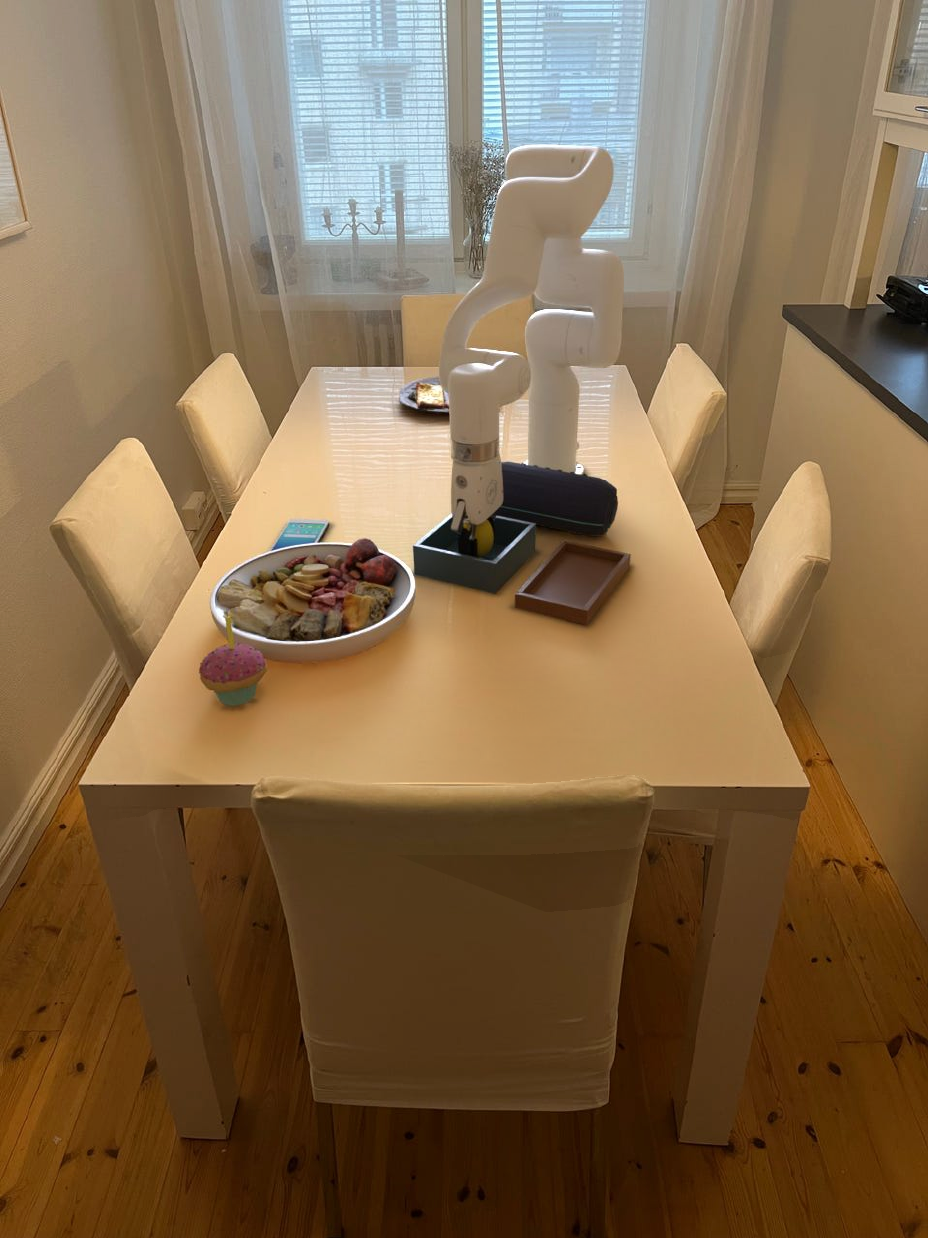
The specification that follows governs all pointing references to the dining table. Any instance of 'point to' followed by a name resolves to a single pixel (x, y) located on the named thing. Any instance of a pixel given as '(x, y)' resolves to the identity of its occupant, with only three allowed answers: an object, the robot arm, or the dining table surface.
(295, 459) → the dining table surface
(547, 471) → the portable speaker
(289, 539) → the smartphone
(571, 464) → the robot arm
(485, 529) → the lemon
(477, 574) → the blue open storage box
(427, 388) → the food plate
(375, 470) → the dining table surface
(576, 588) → the tray
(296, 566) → the bowl
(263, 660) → the cupcake
